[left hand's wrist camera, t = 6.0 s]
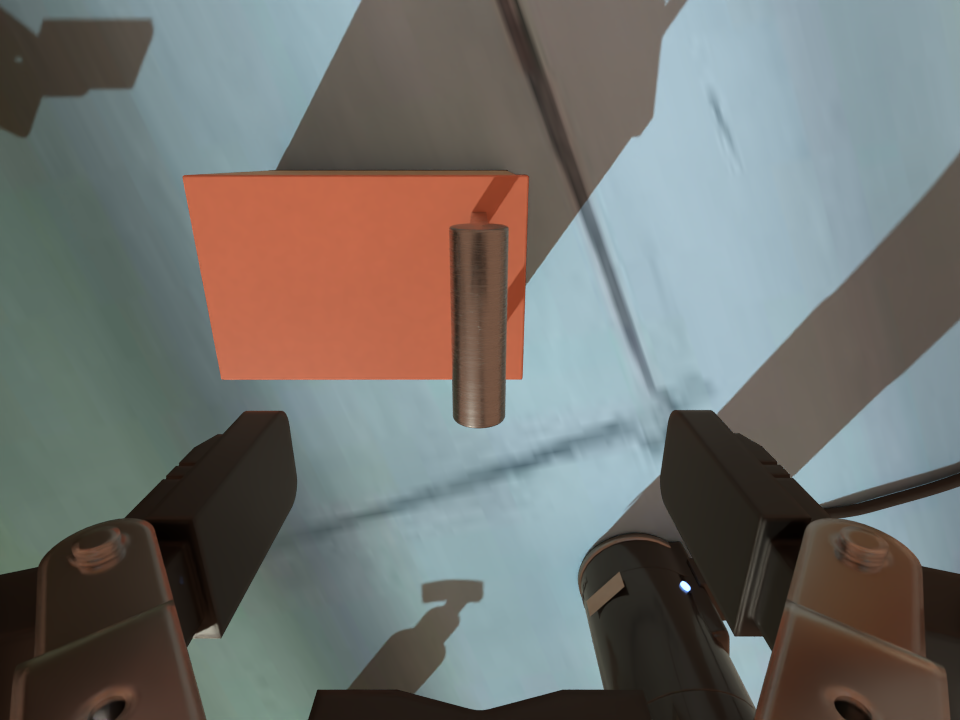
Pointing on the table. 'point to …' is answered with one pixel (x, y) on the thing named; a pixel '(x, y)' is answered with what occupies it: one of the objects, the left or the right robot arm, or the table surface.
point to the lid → (367, 279)
